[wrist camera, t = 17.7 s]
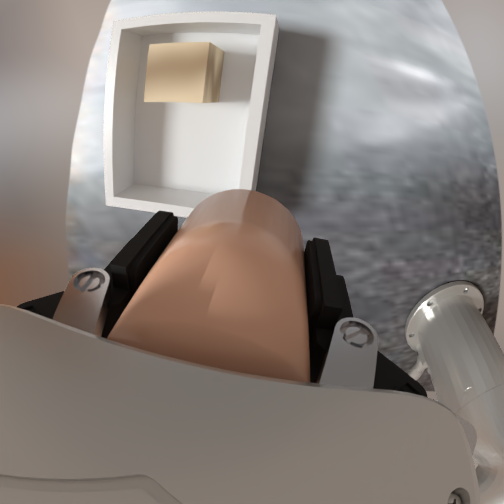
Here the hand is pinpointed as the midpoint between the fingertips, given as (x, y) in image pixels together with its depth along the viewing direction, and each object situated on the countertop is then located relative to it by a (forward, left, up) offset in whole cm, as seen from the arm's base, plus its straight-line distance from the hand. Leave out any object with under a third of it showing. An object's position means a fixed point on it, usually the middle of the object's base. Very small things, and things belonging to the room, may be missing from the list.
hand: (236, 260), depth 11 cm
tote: (+4, +8, -18) cm, 20 cm away
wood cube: (+8, +8, -17) cm, 21 cm away
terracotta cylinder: (0, 0, -1) cm, 1 cm away
